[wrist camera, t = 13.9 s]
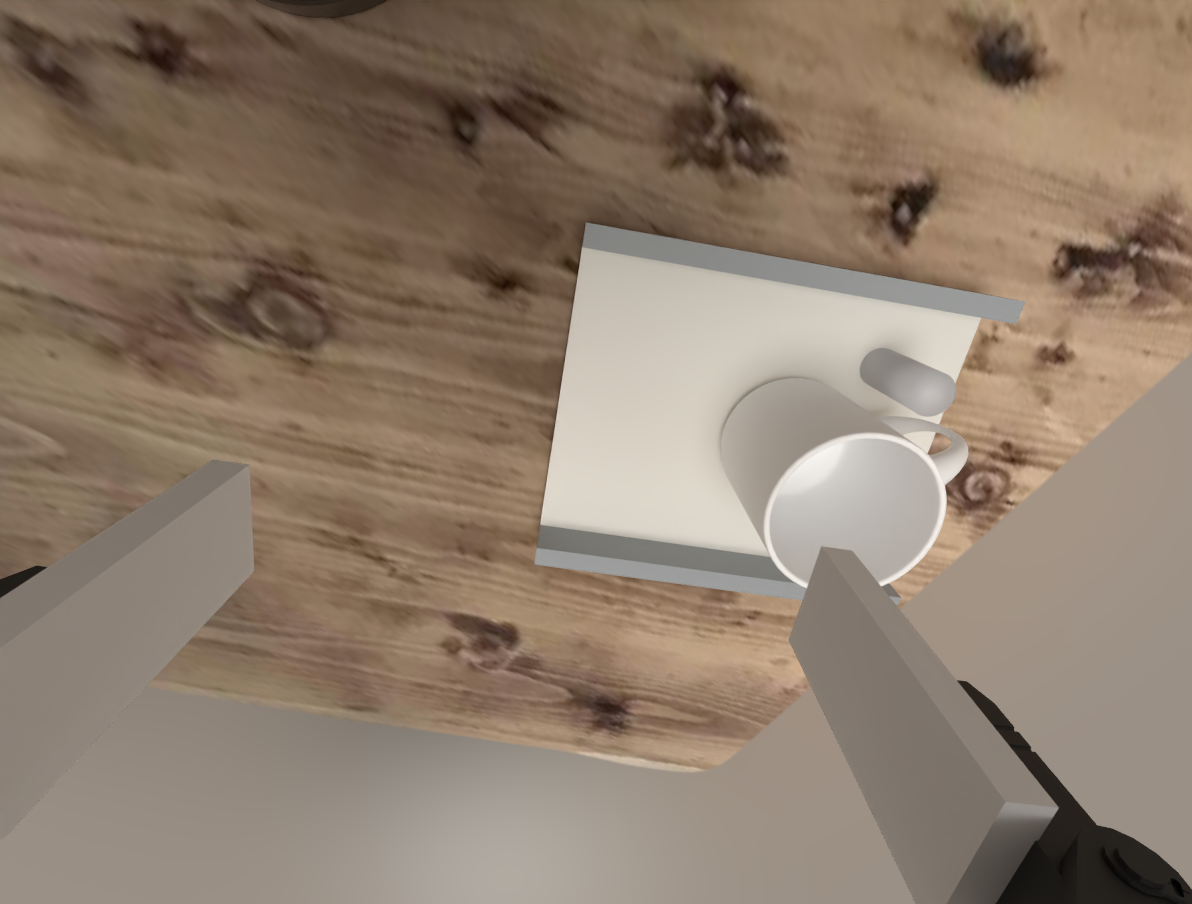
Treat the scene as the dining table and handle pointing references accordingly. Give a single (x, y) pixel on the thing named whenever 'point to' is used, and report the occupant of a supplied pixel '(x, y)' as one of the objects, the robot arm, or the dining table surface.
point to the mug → (836, 478)
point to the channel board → (720, 393)
